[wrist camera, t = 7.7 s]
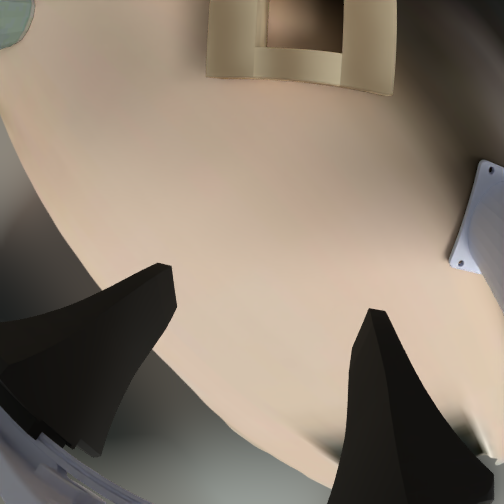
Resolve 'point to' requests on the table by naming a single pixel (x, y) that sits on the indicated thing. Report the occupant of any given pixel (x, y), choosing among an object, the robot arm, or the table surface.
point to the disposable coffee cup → (14, 20)
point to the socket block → (303, 60)
